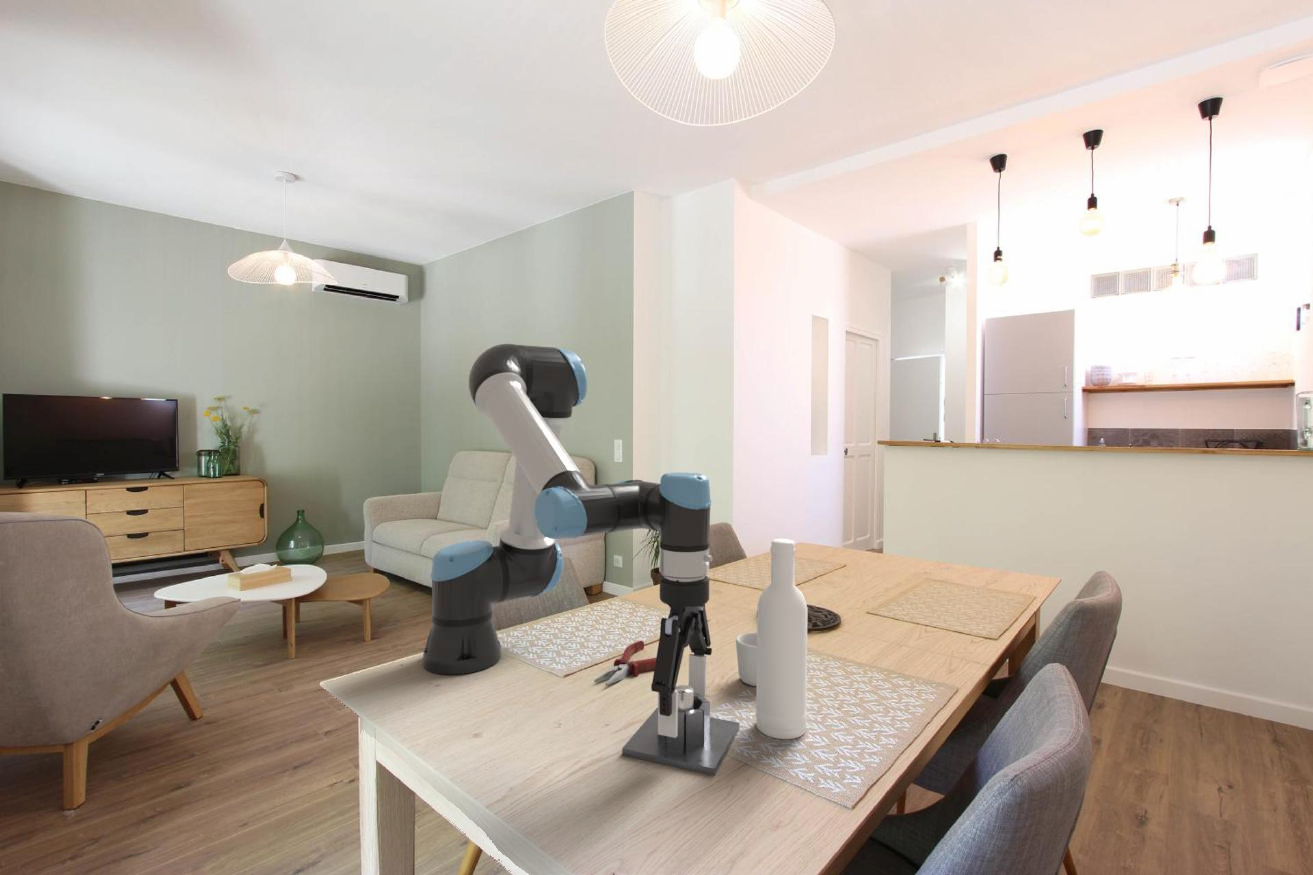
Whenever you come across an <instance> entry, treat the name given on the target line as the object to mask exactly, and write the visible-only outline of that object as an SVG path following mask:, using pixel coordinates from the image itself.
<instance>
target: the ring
mask: <svg viewBox="0 0 1313 875" xmlns="http://www.w3.org/2000/svg"><path fill="white" fill-rule="evenodd" d="M710 705H711V702H710V701H709V700H708V699H707V698H706V697H704V696H702V695H700V694H697V693H694V694H693V710H690V711H680V710H678V736H677V737H676V738H673V737H669V736H664V735H659V734H658V736H659V737H660V738H661V740H662V741H663V742H664V743H665V744H667V745H670V746H675V747H679V748H684V747H685V748H691V747H695V746H700V745H703V744H704V743H705V742H706V740H707V739H708V737H709V736H710V717H711V715H710V714H711V713H710V712H711V710H710V709H711V706H710Z"/></svg>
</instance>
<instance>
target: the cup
mask: <svg viewBox="0 0 1313 875" xmlns="http://www.w3.org/2000/svg"><path fill="white" fill-rule="evenodd" d="M735 645H736V646H735V647H736V655H737V656H736V657H737V667H738V676H739V678H740V681H741V682H742V683H745V684H746V685H749V686H752V687H757V632H744V633H741V634H739V635H737V636H736V638H735Z"/></svg>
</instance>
